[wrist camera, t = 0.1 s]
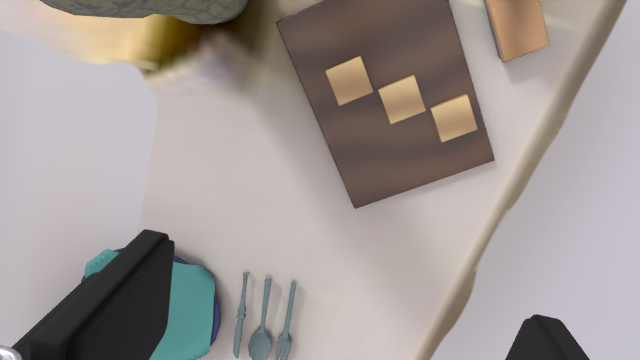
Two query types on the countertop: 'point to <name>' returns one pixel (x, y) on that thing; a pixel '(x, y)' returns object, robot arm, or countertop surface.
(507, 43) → the wooden knob plate
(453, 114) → the crumb
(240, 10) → the olive green flask
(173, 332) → the cutlery set
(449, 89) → the tray
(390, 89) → the crumb
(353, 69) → the crumb
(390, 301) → the countertop surface
